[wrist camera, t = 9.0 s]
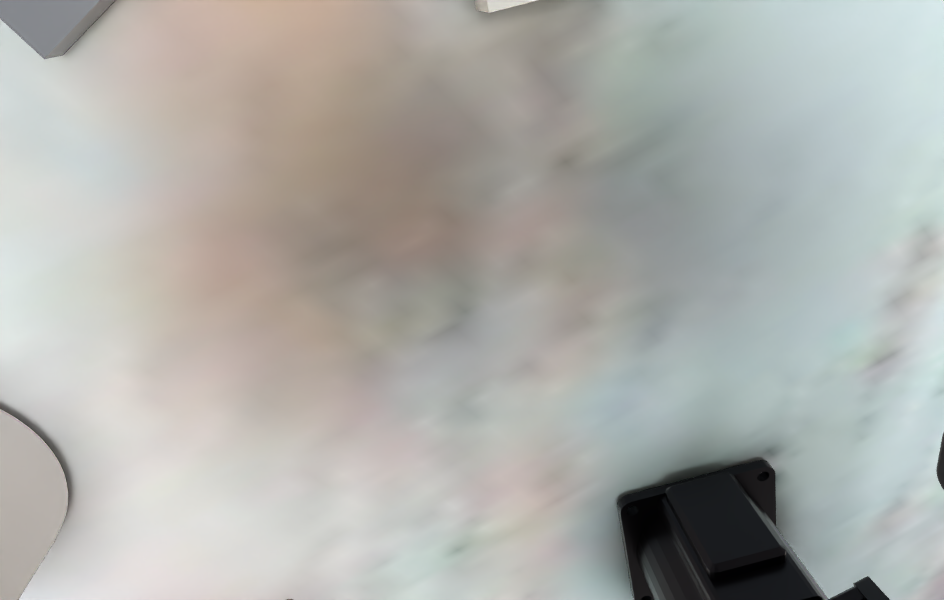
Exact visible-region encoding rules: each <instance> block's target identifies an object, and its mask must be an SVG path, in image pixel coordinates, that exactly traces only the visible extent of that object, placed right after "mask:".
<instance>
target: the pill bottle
mask: <svg viewBox="0 0 944 600" xmlns="http://www.w3.org/2000/svg"><path fill="white" fill-rule="evenodd" d="M67 507H68V488H67V482H66V478H65V475H64V472H63V469H62V467H61V465H60V463H59V461H58V459H57V458H56V456H55V455H54V453H53V452H52V450H51V449H50V448H49V447H48V445H47V444H46V443H45V442H44V441H43V440H42V439H41V438H40V437H39V436H38V435H37V434H36V433H35V432H34V431H33V430H31V429H30V428H29V427H28V426H26V425H25V424H24V423H22V422H21V421H19V420H18V419H16V418H15V417H13V416H12V415H10V414H8V413H6V412H5V411H3V410H1V409H0V600H18V599H19V598H20V596H21V595H22V593H23V591H24V590H25V588H26V587H27V585H28V583H29V582H30V580H31V579H32V577H33V575H34V574H35V572H36V571H37V569H38V567H39V566H40V564H41V563H42V561H43V559H44V558H45V556H46V555H47V553H48V551H49V550H50V548H51V547H52V545H53V543H54V542H55V540H56V537H57V535H58V533H59V531H60V529H61V527H62V524H63V522H64V519H65V516H66V512H67Z"/></svg>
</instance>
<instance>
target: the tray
mask: <svg viewBox="0 0 944 600" xmlns="http://www.w3.org/2000/svg"><path fill="white" fill-rule="evenodd" d="M474 1H475V6H476V10H478V11H483V12H487V13H491V12H495V11H499V10H502V9H506V8H510V7H514V6H518V5H522V4H526V3H530V2H533V1H537V0H474Z"/></svg>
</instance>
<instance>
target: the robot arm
mask: <svg viewBox="0 0 944 600" xmlns="http://www.w3.org/2000/svg"><path fill="white" fill-rule="evenodd" d="M761 472H762V473H761ZM937 477H938V480H939V482H940V484H941V486H942V488H943V489H944V433H943V436H942V442H941V447H940V453H939V458H938V464H937ZM631 506H633V507H632V508H629V507H631ZM617 507H618V513H619V519H620V525H621V531H622V537H623V543H624V549H625V555H626V561H627V567H628V573H629V579H630V585H631V591H632V596H633V598H634V600H890V599H889V598H888V597H887V596H886V595H885V594H884V593H883V592H882V591H881V590H880V589H879V588H878V586H877V585H876V584H875V583H874V582H873V581H872V580H871V579H870V578H869V577H868V576H867V577H865V578H863V579H861V580H859V581H857V582H855V583H853V584H854V587H852V588H850V589H848V590H846V591H844V592H842V593H840V594H838V595H836V596H834V597H832V598H830V599H828V598H827V597H826V595H825V594H824V592H823V591H822V590H821V588H820V587H819V586H818V584H817V583H816V581H815V580H814V579H813V577H812V576H811V575H810V573H809V572H808V570H807V569H806V568H805V566H804V565H803V563H802V562H801V561H800V559H799V558H798V557H797V555H796V554H795V552H794V551H793V550H792V548H791V547H790V546H789V544H788V543H787V541H786V540H785V539H784V537H783V536H782V535H781V533H780V532H779V530H778V529H777V528H776V497H775V471H774V469H773V468H772V467H771V465H770V464H769V463H768V462H767V461H764V460H760V461H755V462H751V463H747V464H743V465H740V466H736V467H732V468H728V469H724V470H721V471H717V472H713V473H709V474H705V475H702V476H698V477H694V478H690V479H686V480H683V481H679V482H675V483H671V484H667V485H664V486H660V487H656V488H652V489H648V490H645V491H641V492H637V493H633V494H629V495H626V496H624V497H622V498H621V499H620V500H619V502H618V506H617ZM287 600H293V599H287Z"/></svg>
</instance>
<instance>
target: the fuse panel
mask: <svg viewBox="0 0 944 600" xmlns="http://www.w3.org/2000/svg"><path fill="white" fill-rule="evenodd" d="M114 1H115V0H0V19H1V20H2V21H3V22H4V23H6V24H7V25H8V26H9V27H10V28H11V29H12V30H13V31H14V32H15V33H17V34H18V35H19V36H20V37H21V38H22V39H23V40H24V41H25V42H26V43H27V44H29V45H30V46H31V47H32V48H33V49H34V50H35V51H36V52H37V53H38V54H39V55H41V56H42V57H43V58H44V59H47V58H52V57H57V56H62V55H63V54H64V53H65V52H66V51H67V50H68V49H69V48H70V47H71V46H72V45H73V44H74V43H75V42H76V41H77V40H78V39H79V38H80V37H81V35H82V34H83V33H84V32H85V31H86V30H87V29H88V28H89V27H90V26H91V25H92V24H93V23H94V22H95V21H96V20H97V19H98V18H99V17H100V16H101V15H102V14H103V12H104V11H105V10H106V9H107V8H108V7H109V6H110V5H111V4H112V3H113V2H114Z"/></svg>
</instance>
